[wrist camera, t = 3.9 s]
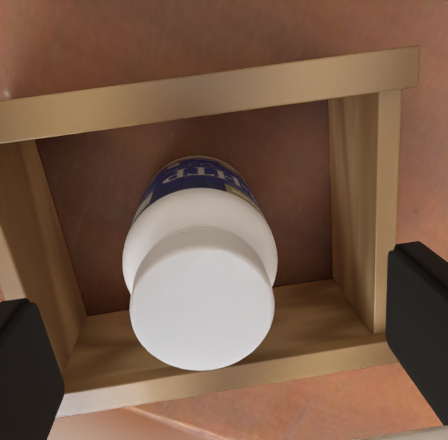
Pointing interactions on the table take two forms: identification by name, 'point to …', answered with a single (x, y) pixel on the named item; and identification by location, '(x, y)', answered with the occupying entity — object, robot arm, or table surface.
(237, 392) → the table surface
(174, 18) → the table surface
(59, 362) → the wooden box
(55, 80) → the table surface
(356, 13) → the table surface
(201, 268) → the pill bottle
